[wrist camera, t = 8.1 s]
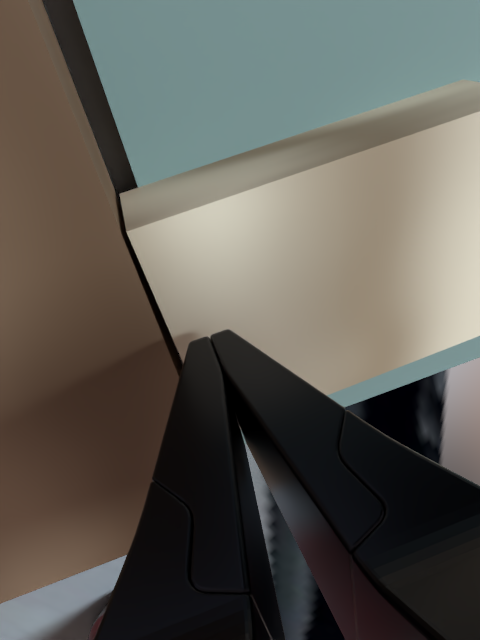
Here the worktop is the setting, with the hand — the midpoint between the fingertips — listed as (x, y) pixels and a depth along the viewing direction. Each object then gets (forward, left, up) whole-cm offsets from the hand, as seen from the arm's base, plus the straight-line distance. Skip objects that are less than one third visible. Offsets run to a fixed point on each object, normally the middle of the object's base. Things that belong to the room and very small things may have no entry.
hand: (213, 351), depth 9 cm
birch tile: (+2, +2, -3) cm, 4 cm away
